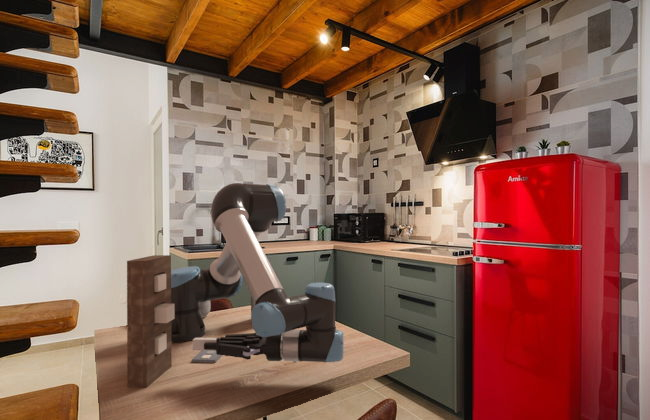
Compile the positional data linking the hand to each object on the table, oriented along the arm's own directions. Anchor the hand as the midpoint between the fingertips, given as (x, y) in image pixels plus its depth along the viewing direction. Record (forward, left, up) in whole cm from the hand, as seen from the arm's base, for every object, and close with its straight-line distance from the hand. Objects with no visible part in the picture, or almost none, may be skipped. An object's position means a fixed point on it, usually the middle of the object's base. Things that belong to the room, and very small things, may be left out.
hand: (194, 343), depth 92 cm
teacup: (-27, -52, -9) cm, 59 cm away
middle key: (+5, -6, +6) cm, 10 cm away
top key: (+7, -8, +14) cm, 17 cm away
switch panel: (+8, -9, -9) cm, 15 cm away
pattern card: (-10, -10, -9) cm, 16 cm away
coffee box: (-40, -27, -9) cm, 49 cm away
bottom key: (+7, -8, -2) cm, 11 cm away
